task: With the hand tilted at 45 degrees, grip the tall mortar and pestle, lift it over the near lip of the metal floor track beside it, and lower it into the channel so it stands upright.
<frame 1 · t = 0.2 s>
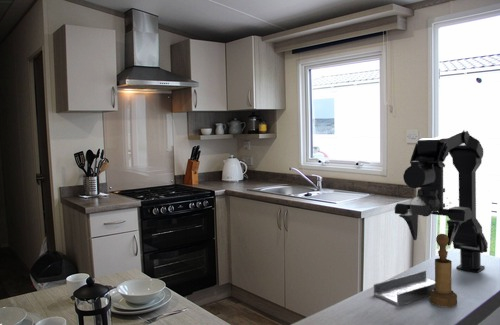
hand: (431, 242, 115), 14 cm above the kitchen counter, tool pointing down, fingers open, 9 cm apart
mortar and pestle: (443, 303, 111), on the kitchen counter
floor track: (412, 292, 119), on the kitchen counter
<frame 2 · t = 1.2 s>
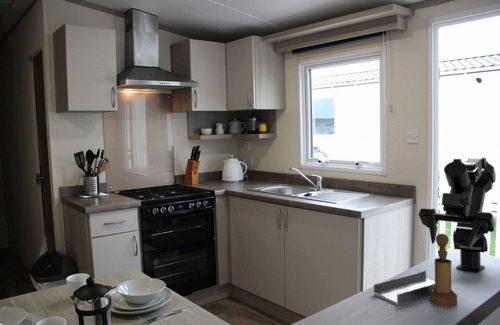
hand: (450, 245, 116), 13 cm above the kitchen counter, tool tilted 45°, fingers open, 9 cm apart
nothing on the kitchen counter moved.
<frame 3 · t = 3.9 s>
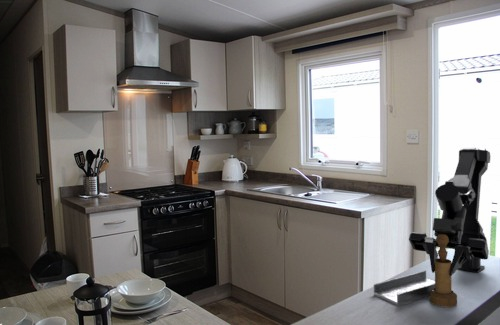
hand: (441, 273, 109), 8 cm above the kitchen counter, tool tilted 45°, fingers closed on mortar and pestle, 4 cm apart
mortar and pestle: (443, 303, 111), on the kitchen counter, touching gripper
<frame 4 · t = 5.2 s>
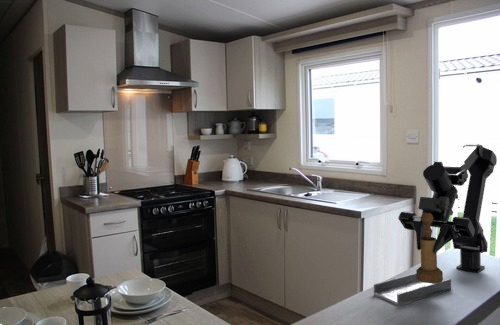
hand: (426, 250, 112), 13 cm above the kitchen counter, tool tilted 45°, fingers closed on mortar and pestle, 4 cm apart
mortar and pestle: (429, 280, 114), point 5 cm above the kitchen counter, touching gripper
when the fingers open (10 cm above the kitchen counter, at t = 7.0 s): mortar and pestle drops 1 cm, resting on floor track.
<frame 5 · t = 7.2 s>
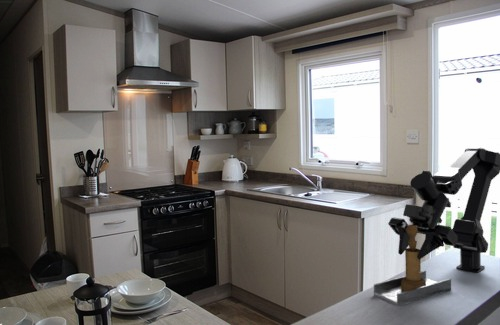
hand: (408, 256, 117), 11 cm above the kitchen counter, tool tilted 45°, fingers open, 6 cm apart
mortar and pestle: (413, 289, 119), point 1 cm above the kitchen counter, touching floor track
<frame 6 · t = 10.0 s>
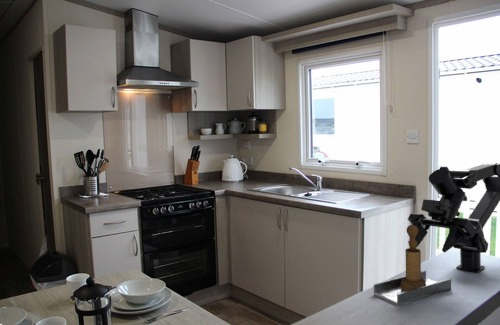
hand: (428, 248, 122), 11 cm above the kitchen counter, tool tilted 45°, fingers open, 9 cm apart
nothing on the kitchen counter moved.
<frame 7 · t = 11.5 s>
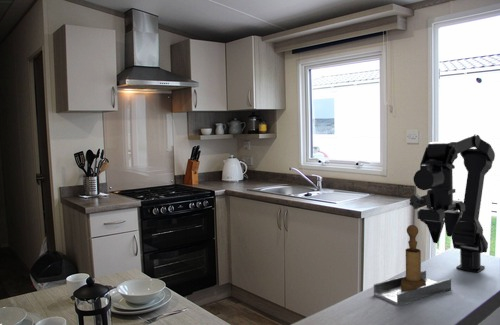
hand: (442, 239, 123), 13 cm above the kitchen counter, tool pointing down, fingers open, 9 cm apart
nothing on the kitchen counter moved.
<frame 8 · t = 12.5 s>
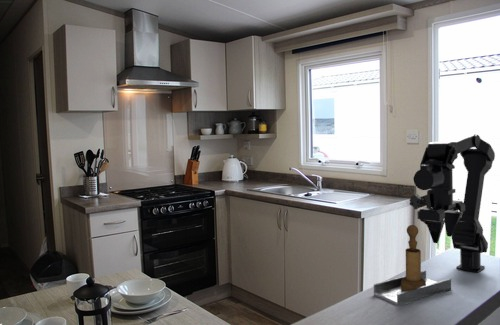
hand: (442, 239, 123), 13 cm above the kitchen counter, tool pointing down, fingers open, 9 cm apart
nothing on the kitchen counter moved.
at the end: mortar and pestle 0.2 cm off-centre on the floor track, point 0.6 cm above the floor track's base; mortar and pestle tilted 0°; the gripper is holding nothing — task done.
